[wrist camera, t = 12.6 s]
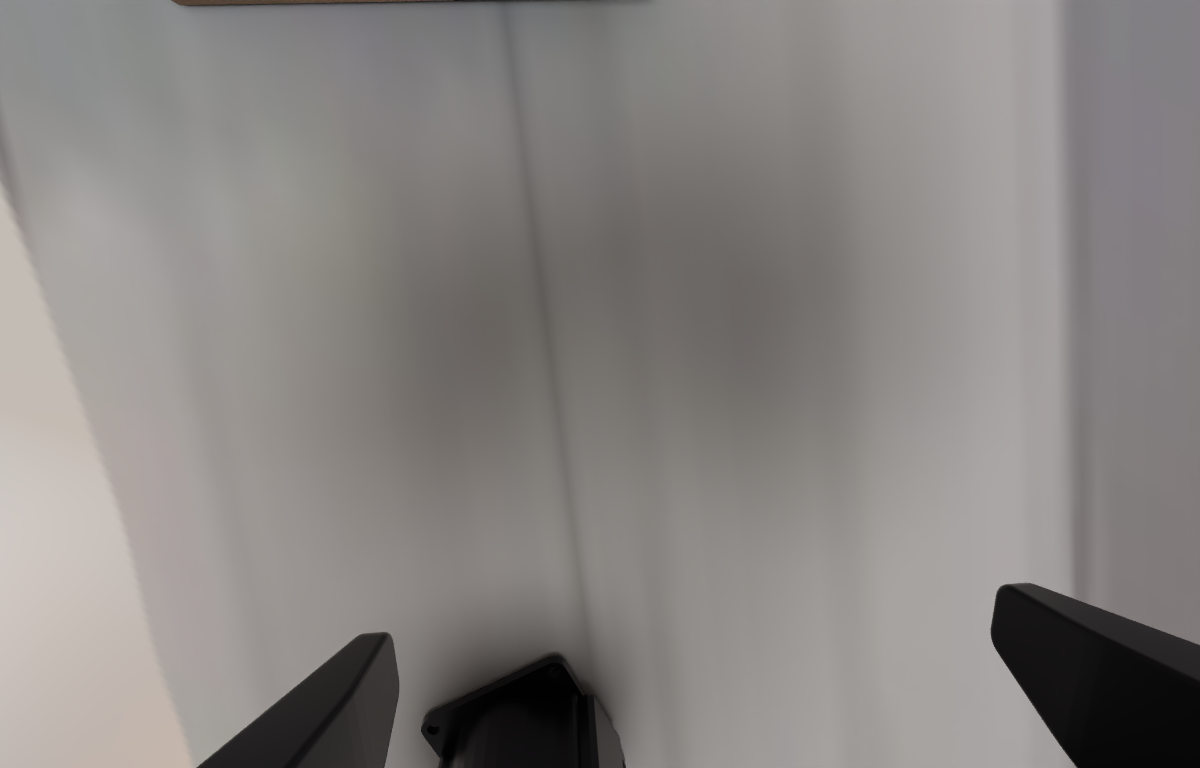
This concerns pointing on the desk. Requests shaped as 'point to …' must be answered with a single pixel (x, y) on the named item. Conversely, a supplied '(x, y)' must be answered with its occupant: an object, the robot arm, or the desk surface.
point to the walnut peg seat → (276, 1)
